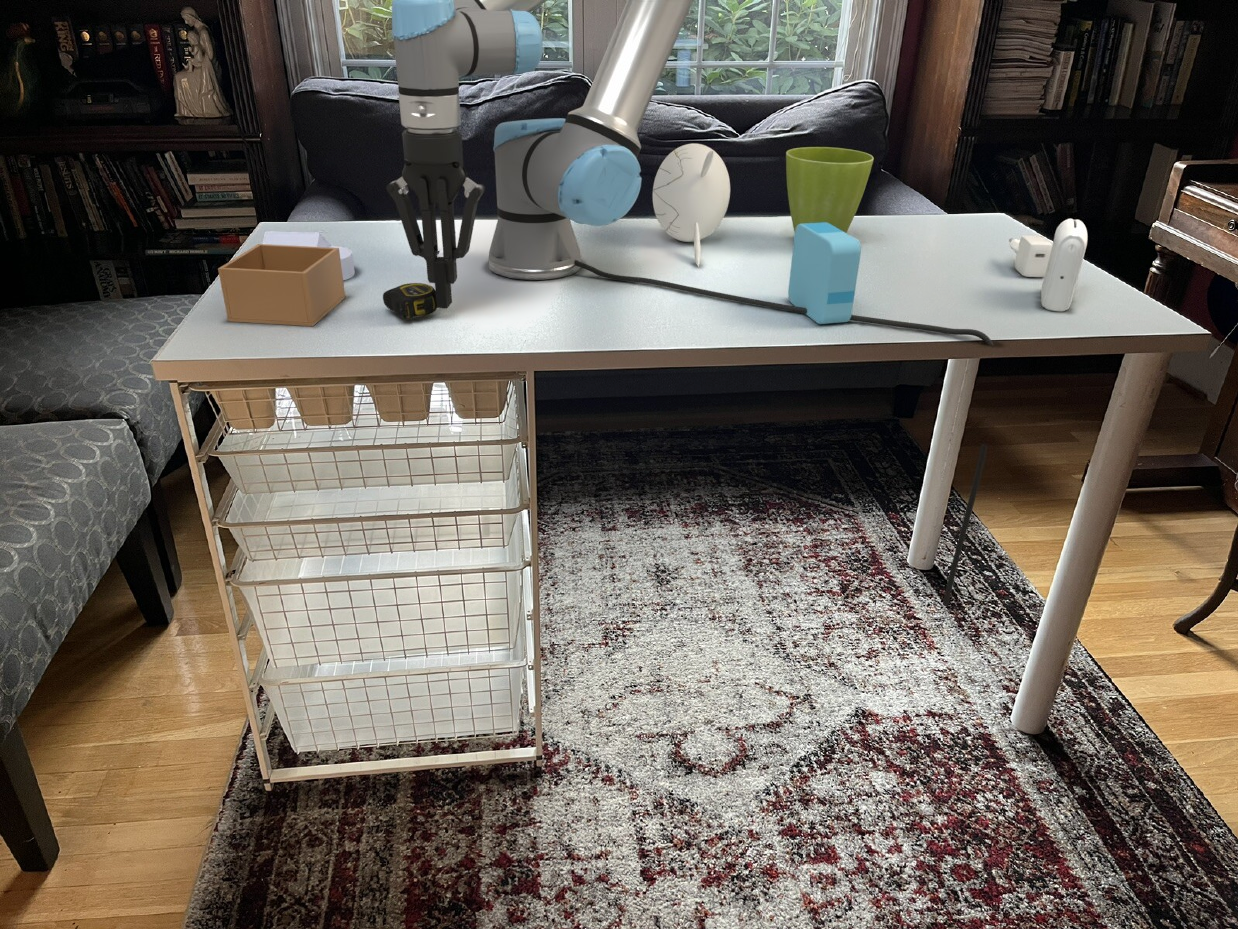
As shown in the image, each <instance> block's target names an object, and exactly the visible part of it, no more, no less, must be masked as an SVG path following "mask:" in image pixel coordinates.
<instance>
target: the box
mask: <svg viewBox="0 0 1238 929" xmlns="http://www.w3.org/2000/svg"><path fill="white" fill-rule="evenodd" d="M217 271H218V276H219V282H220V286H221V292H222V296H223V302H224V306H225V312H226V317H227V322H235V323H247V324H248V323H251V324H267V325H269V324H270V325H286V326H300V327H301V326H302V327H314V326H315V325H316V324H318V322H320V321H321V320H322V319H323V318H324V317H325V316H326V315H328V314H329V313H330V312H331V311H332V310H334V308H336V307H337V306H338V305H339V304H340V303H341V302H342V301H344V300H345V299H346V293H345V292H346V290H345V284H344V280H343V275H342V268H341V260H340V252H339V248H327V247H308V246H288V245H268V244H262V243H258V244H256V245H254V246H253V247H251V248H249V249H247V250H246V251H244V252H243V253H241V254H240V255H237V256H235V258H233V259H231V260H230V261H228V262H227V263H225V264H223V265H221V266H220V267H218V268H217Z"/></svg>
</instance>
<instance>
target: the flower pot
mask: <svg viewBox="0 0 1238 929" xmlns="http://www.w3.org/2000/svg"><path fill="white" fill-rule="evenodd" d="M874 158H875V157H874V156H873V155H872V154H869V153H867V152H864V151H860V150H854V149H849V148H843V147H842V148H841V147H829V146H805V147H796V148H795V147H794V148H791V149H788V150H787V151H785V165H786V166H785V168H786V170H785V171H786V173H785V174H786V188H787V198H788V206H789V211H790V217H791V222H792V227H793V228H792V229H793V231H794V234H795V229H796V227H797V226H798V225H799V224H805V223H823V222H827V223H829V224H831V225H833V226H834V227H836V228H838V229H840V230H841V231H843V232H845V233H847V234H848V231H849V228H850V227H851V224H852V223H853V221H854V218H855V216H856V213H857V211H858V209H859V206H860V203H861V201H862V199H863V195H864V193H865V191H866V190H865V189H866V186H867V183H868V180H869V178H870V174H871V172H872V171H871V170H872V167H873V164H874Z"/></svg>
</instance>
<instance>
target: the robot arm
mask: <svg viewBox="0 0 1238 929" xmlns="http://www.w3.org/2000/svg"><path fill="white" fill-rule="evenodd" d="M547 1H548V0H392V3H391V28H392V29H391V30H392V32H391V37H392V39H393V48H394V59H395V66H396V76H397V85H398V86H397V88H398V103H399V112H400V113H399V114H400V124H401V126H402V127H403V128H406V129H404V130H403V132H401V138H402V148H403V160H404V166H403V169H402V171H401V176H400V177H399V178H397V179H395V180H393V181H391V182H389V183H388V184H387V185H386V191H387V193H388V195H389V196H390V197H391V198H392V200H393V201H394V203H395V205H396V209H397V211H398V215H399V217H400V222H401V224H402V227H403V230H404V234H405V235H406V239H407V242H408V246H409V248H410V252H411V254H412V255H413V256H415V257H421V258H423V259H424V260H425V263H426V275H427V282H428V283H429V284H434V289H435V292H436V305H437V309H445V310H446V309H448V308H449V307H450V306H451V304H452V303H453V295H452V294H453V293H452V285H454V284H455V283H456V282H457V280H458V268H457V267H458V266H457V260H458V259H463V258H464V257H465V256H467V254H468V253H469V252H470V249H471V248H470V247H471V242H472V236H473V231H474V226H475V222H476V221H475V220H476V216H477V210H478V204H479V201H480V199H482V198H481V197H482V196H483V194H484V193H485V191H486V187H485V185H484V184H483V183H478V184H477V183H476V182H475V181H474V180H472V179H471V178H469V175H468V171H467V170H466V168H465V165H464V155H463V154H464V153H463V137H462V132H461V131H460V130H459V129H458V127H460V125H461V124H462V119H461V118H462V117H461V105H460V104H461V102H460V87H459V86H460V83H459V82H460V78H464V77H467V78H468V77H471V76H476V77H477V76H495V75H496V76H499V75H500V76H501V75H512V76H516V75H517V74H524V73H531V72H533V71H534V70H536V68H537V67H538V66H539V65H540V62H541V60H542V56H543V53H544V52H543V51H544V47H543V46H544V44H543V40H544V38H543V32H542V28H541V25H540V24H539V21H538V19H537V18H536V17H535V16H534V15H533V14H532V12H534V11H535V10H537V9H538V8H539V7H541V6H542V5H544V4H545V3H546V2H547ZM693 2H694V0H626V3H625V5H624V7H623V9H622V12H621V14H620V17H619V19H618V22H617V24H616V26H615V28H614V30H613V33H612V36H611V38H610V41H609V43H608V44H607V48H606V50H605V52H604V55H603V57H602V59H601V62H600V64H599V67H598V69H597V72H596V74H595V77H594V79H593V81H592V83H591V86H590V88H589V90H588V92H587V94H586V98H585V100H584V103H583V105H582V106H580V107H578V108H575V109H573V110H571V111H569V112H568V113H567V115H566V118H560V117H557V118H555V117H554V118H536V119H522V120H512V121H505V122H501V123H499V124H497V126H496V127H495V130H494V137H493V141H494V142H493V148H492V149H493V152H494V167H495V168H494V169H495V170H494V171H495V187H496V188H495V189H496V207H497V208H496V209H497V221H496V226H495V229H494V232H493V237H492V240H491V244H490V248H489V251H488V256H487V257H488V258H487V259H488V269H489V270H490V271H491V272H493V273H494V274H496V275H497V276H498V275H499V276H501V277H505V278H509V279H516V280H526V281H541V280H553V279H560V278H564V277H567V276H571V275H574V274H575V273H577V272H578V271H580V270H581V268H582V269H583V270H586V271H588V272H591V273H592V274H594V275H597V276H599V277H602V278H606V279H609V280H614V281H620V282H630V283H641V284H648V285H654V286H659V287H663V288H668V289H674V290H676V291H677V290H678V291H683V292H687V293H692V294H696V295H701V296H708V297H711V298H717V299H722V300H726V301H730V302H731V301H732V302H737V303H744V304H747V305H752V306H759V307H763V308H764V307H765V308H771V309H776V310H781V311H788V312H794V313H800V314H804V315H806V313H807V309H806V308H803V307H797V306H795V305H791V304H790V305H789V304H784V303H778V302H773V301H772V302H771V301H766V300H762V299H755V298H750V297H745V296H739V295H734V294H728V293H723V292H718V291H712V290H708V289H704V288H699V287H693V286H688V285H684V284H678V283H674V282H670V281H664V280H659V279H654V278H648V277H641V276H631V275H630V276H629V275H622V274H621V275H620V274H614V273H610V272H606V271H602V270H601V269H598V268H596V267H595V266H592V265H589V264H587V263H584V262H582V254H581V250H580V246H579V244H578V241H577V237H576V235H575V231H574V228H573V225H572V222H573V223H575V224H579V225H588V226H591V227H592V226H593V227H604V226H609V225H611V224H613V223H615V222H618V221H619V220H621V219H622V218H623V217H624V216H626V215H627V214H628V212H629V211H630V210H631V209H632V208H633V206H634V204H635V203H636V201H637V199H638V197H639V194H640V191H641V188H642V176H641V175H640V173H641V172H642V170H641V165H640V163H639V161H638V157H639V154H640V152H641V149H642V145H641V143H640V142H641V141H640V140H639V137H638V130H639V128H640V125H641V123H642V121H643V118H644V116H645V114H646V112H647V109H648V107H649V105H650V102H651V100H652V98H653V95H654V93H655V91H656V88H657V86H658V84H659V81H660V79H661V78H662V75H663V72H664V70H665V67H666V65H667V63H668V60H669V58H670V55H671V53H672V51H673V49H674V46H675V44H676V42H677V40H678V37H679V35H680V32H681V30H682V27H683V25H684V23H685V21H686V18H687V16H688V14H689V11H690V9H691V6H692V4H693ZM459 77H460V78H459ZM409 188H410V190H411V191H412V192H413V194H414V195H415V196H416V198H417V199H418V203H419V210H420V213H421V214H420V216H421V226H422V233H421V229H420V227H419V226H420V225H419V223H418V219H417V217H416V213H415V211H414V207H413V204H412V200H411V197H410V196H409ZM462 188H464V192H463V195H464V197H465V198H466V200H465V203H464V206H463V212H462V218H461V223H460V229H459V235H458V236H459V237H458V241H457V238H456V222H455V210H454V209H455V199H456V198H457V196H458V195H459V193H460V191H461V190H462ZM437 204H438V211H439V215H440V216H439V218H440V229H441V230H440V231H441V242H442V254H443V256H438V255H439V254H440V252H441V251H440V250H439V245H438V244H439V243H438V231H437V230H438V229H437V216H436V205H437ZM849 321H852V322H859V323H866V324H867V323H868V324H875V325H880V326H881V325H882V326H889V327H896V328H903V329H911V330H918V331H919V330H920V331H926V332H935V333H940V334H946V335H953V336H954V335H955V336H956V335H957V336H973V337H976V338H979V339H980V340H982V341H983V342H984V344H985V345H987V346H994V342H993V341H992V339H991V338H990V337H989V336H988V335H987V334H986V333H984V332H983V331H980V330H977V329H974V328H973V329H972V328H952V327H945V326H940V325H939V326H937V325H931V324H924V323H917V322H916V323H915V322H907V321H900V320H892V319H885V318H879V317H878V318H877V317H870V316H863V315H855V314H852V315H851V318H850V320H849ZM980 445H981V446H980V451H979V456H978V460H977V465H976V469H975V474H974V477H973V481H972V486H971V491H970V493H969V498H968V501H967V506H966V509H965V513H964V516H963V520H962V523H961V528H960V531H959V535H958V540H957V544H956V547H955V551H954V554H953V559H952V562H951V567H950V571H949V574H948V580H947V584H946V589H945V592H944V597H943V601H942V605H943V606H944V607H948V606H949V604H950V600H951V596H952V591H953V586H954V582H955V578H956V574H957V568H958V566H959V561H960V557H961V553H962V550H963V547H964V542H965V538H966V534H967V531H968V528H969V523H970V520H971V516H972V512H973V508H974V504H975V501H976V498H977V493H978V489H979V486H980V482H981V477H982V473H983V470H984V465H985V460H986V455H987V451H988V446H989V445H988V444H985V443H981V444H980Z"/></svg>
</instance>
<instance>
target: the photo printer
mask: <svg viewBox="0 0 1238 929" xmlns="http://www.w3.org/2000/svg"><path fill="white" fill-rule="evenodd" d="M1087 246H1088V229H1087V227H1086V225H1085V224H1084V222H1083V221H1082V220H1080V219H1073V218H1067V219H1065V220H1063V221H1062V222H1060V224H1058V226H1057V227H1056V230H1055V233H1054V236H1053V241H1052V249H1051V253H1050V257H1049V261H1048V265H1047V269H1046V273H1045V276H1044V277H1043V280H1042V284H1041V292H1040V300H1041V306H1042V307H1043V308H1044V309H1046V310H1048V311H1053V312H1065V311H1068V310H1069V309H1070V307H1071V305H1072V302H1073V298H1074V294H1075V291H1076V287H1077V283H1078V280H1079V277H1080V272H1081V269H1082V265H1083V261H1084V258H1085V253H1086V249H1087Z"/></svg>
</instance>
